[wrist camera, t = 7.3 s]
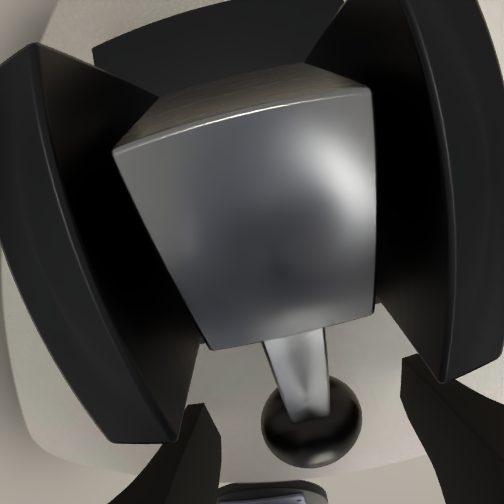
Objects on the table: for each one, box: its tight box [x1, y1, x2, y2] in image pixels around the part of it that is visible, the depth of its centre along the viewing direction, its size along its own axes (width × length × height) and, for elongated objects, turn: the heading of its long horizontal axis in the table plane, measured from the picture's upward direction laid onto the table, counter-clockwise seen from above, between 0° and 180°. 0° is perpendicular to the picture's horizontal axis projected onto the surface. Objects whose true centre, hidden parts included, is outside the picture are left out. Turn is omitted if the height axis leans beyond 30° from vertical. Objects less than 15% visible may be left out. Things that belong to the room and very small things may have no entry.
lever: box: [111, 62, 379, 468], centre depth 7 cm, size 11×3×3 cm, turn 14°
